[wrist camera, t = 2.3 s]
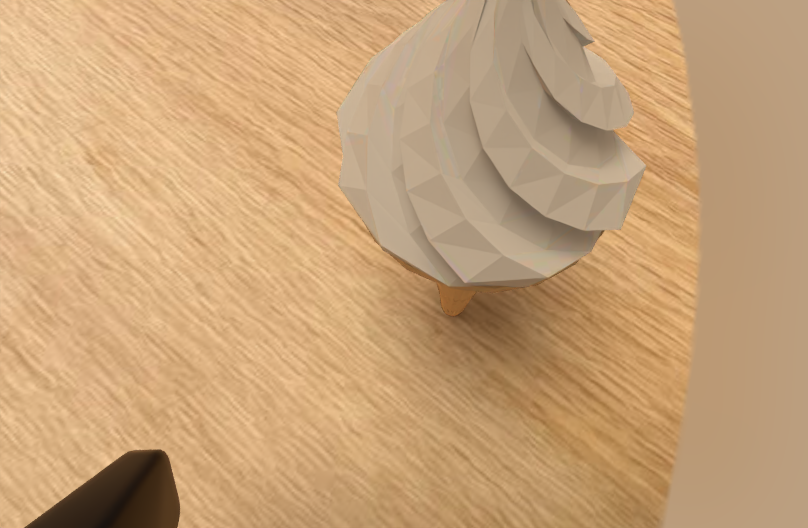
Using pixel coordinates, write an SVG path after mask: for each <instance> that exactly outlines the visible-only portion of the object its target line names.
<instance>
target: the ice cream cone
mask: <svg viewBox="0 0 808 528" xmlns="http://www.w3.org/2000/svg"><path fill="white" fill-rule="evenodd" d="M592 42H595V41H594V40H593V38H592V36H591V35H590V33H589V32H588V30H587V29H586V27H585V26H584V24H583V23H582V21H581V19H580V18H579V16H578V15H577V13H576V12H575V11H574V10H573V8H572V7H571V6H570V4H569V3H568V1H567V0H446V1H445V2H443V3H442V4H440V5H439V6H438V7H436V8H435V9H433V10H432V11H430V12H429V13H428V14H427V15H426V16H425V17H424V18H423V19H422V20H421V21H420V22H418V23H417V24H415V25H414V26H412V27H411V28H409V29H408V30H406V31H405V32H403V33H402V34H401V35H400V36H399V37H398V38H397V39H396V40H394V41H393V42H392V43H391V44H389V45H388V46H387V47H385V48H384V49H383V50H381V51H380V52H379V53H377V54H376V55H374V56H373V57H372V58H371V59H370V60H369V62H368V63H367V65H366V67H365V68H364V70H363V71H362V73H361V74H360V76H359V77H358V79H357V81H356V82H355V84H354V85H353V87H352V88H351V90H350V92H349V93H348V95H347V96H346V98H345V99H344V101H343V103H342V104H341V106H340V107H339V109H338V110H337V119H338V125H339V132H340V139H341V146H342V152H343V159H342V166H341V172H340V178H339V185H338V186H339V187H340V189H341V190H342V192H343V193H344V194H345V196H346V197H347V199H348V200H349V202H350V203H351V205H352V206H353V207H354V209H355V210H356V212H357V213H358V215H359V216H360V218H361V219H362V221H363V222H364V223H365V225H366V227H367V229H368V230H369V232H370V234H371V236H372V237H373V239H374V241H375V242H376V243H377V244H378V245H380V247H381V248H382V250H383V251H385V252H387V253H389V254H390V255H391V256H392V257H393V258H394V259H395V260H397V261H398V262H399V263H400V264H401V265H402V266H403V267H405V268H406V269H407V270H409V271H411V272H414V273H416V274H418V275H420V276H423V277H425V278H427V279H429V280H432V281H434V282H436V283H437V285H438V290H439V294H440V301H441V306H442V309H443V311H444V312H445V313H446V314H447V315H449V316H456V315H458V314H460V313H461V312H462V311H463V310H464V308H465V307H466V305H467V304H468V302H469V301H470V299H471V298H472V297H473V296H474V295H475V293H476V292H489V293H496V292H501V291H507V290H512V289H518V288H523V287H529V286H534V285H538V284H540V283H542V282H544V281H545V280H547V279H549V278H551V277H553V276H555V275H557V274H558V273H560V272H562V271H564V270H566V269H568V268H569V267H571V266H573V265H575V264H576V263H577V262H578V261H579V259H580V258H581V257H583V256H585V255H586V254H588V253H590V252H591V251H592V249H593V247H594V245H595V243H596V241H597V240H598V238H599V237H600V236H601V235H602V234H603V232H604V231H605V230H621V228H622V225H623V223H624V220H625V218H626V215H627V213H628V210H629V208H630V205H631V203H632V200H633V198H634V195H635V193H636V190H637V188H638V185H639V183H640V180H641V178H642V175H643V173H644V170H645V168H646V165H645V164H644V163H643V162H642V161H641V160H640V158H639V157H638V156H637V155H636V154H635V153H634V152H633V151H632V150H631V149H630V148H629V147H628V146H627V145H626V144H625V143H624V142H623V141H622V140H621V139H620V137H619V136H618V135H617V134H616V133H615V132H614V131H613V130H614V129H618V128H623V127H626V126H627V125H628V123H629V121H630V119H631V118H632V116H633V114H634V111H633V107H632V103H631V100H630V96H629V93H628V92H627V90H626V89H625V87H624V86H623V85H622V83H621V82H620V80H619V79H618V78H617V76H616V74H615V73H614V72H613V70H612V69H611V68H610V66H609V65H608V64H607V62H606V61H605V60H604V59H602V58H601V57H599V56H598V55H596V54H595V53H593V52H591V51H590V50H588V49H587V48H585V47H584V46H585V45H588V44H590V43H592Z"/></svg>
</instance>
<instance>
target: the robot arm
mask: <svg viewBox="0 0 808 528" xmlns="http://www.w3.org/2000/svg"><path fill="white" fill-rule="evenodd" d="M179 516H180V502H179V497H178V493H177V489H176V485H175V481H174V477H173V473H172V469H171V465H170V461H169V458H168V456H167V454H166V453H165V452H164V451H162V450H134V451H130V452H127V453H126V454H124V455H122V456H121V457H120V458H118V459H117V460H116V461H114V462H113V463H112V464H110V465H109V466H107V467H106V468H105V469H103V470H102V471H101V472H99V473H98V474H97V475H95V476H94V477H93V478H91V479H90V480H88V481H87V482H86V483H84V484H83V485H82V486H80V487H79V488H78V489H76V490H75V491H73V492H72V493H71V494H69V495H68V496H67V497H65V498H64V499H63V500H61V501H60V502H59V503H57V504H56V505H54V506H53V507H52V508H50V509H49V510H48V511H46V512H45V513H44V514H42V515H41V516H39V517H38V518H37V519H35V520H34V521H33V522H31V523H30V524H29V525H27V526H26V527H25V528H177V527H178V522H179Z"/></svg>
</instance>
